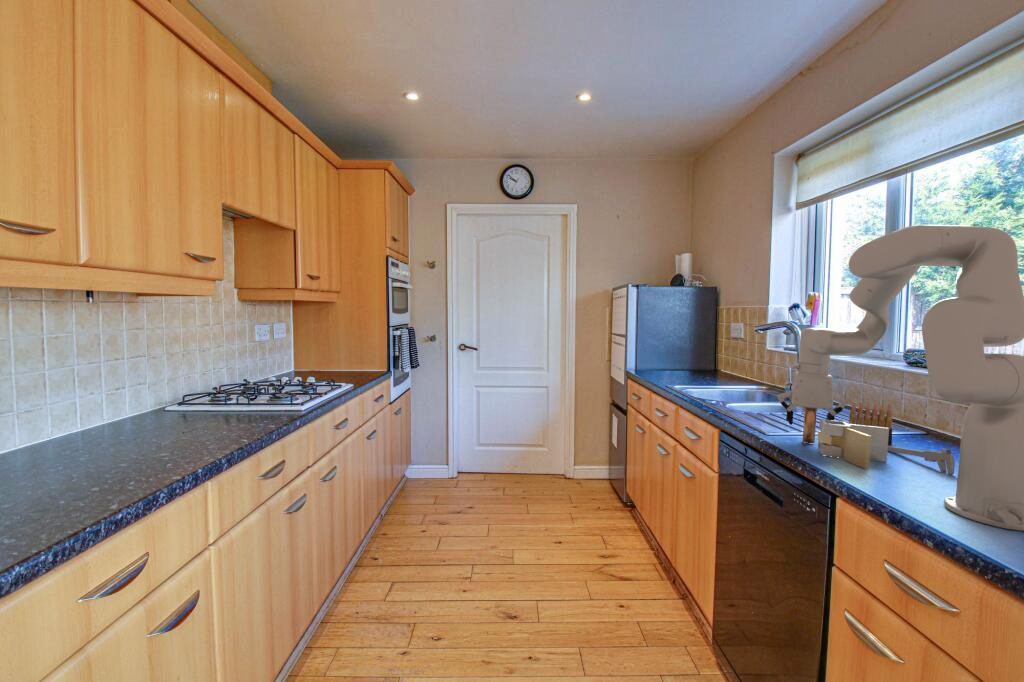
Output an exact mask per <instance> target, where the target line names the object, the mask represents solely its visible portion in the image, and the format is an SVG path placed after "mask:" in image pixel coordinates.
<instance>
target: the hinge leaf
mask: <svg viewBox="0 0 1024 682" xmlns="http://www.w3.org/2000/svg"><path fill="white" fill-rule="evenodd" d="M818 440H819V441H821V442H824V443H826V444H828V445H831V446H840V447H843V448H844V457H843V459H842V460H844V461H847V462H849V463H851V464H852V465H855V466H858V467H859V468H862V469H864V470H869V469H870V461H871V460H870V447H871V436H870V435H867V434H864V433H862V432H859V431H856V430H853V429H850V428H846V431H845V437H841V436H832V435H824V434H823V433H822V432H821V431H817V441H818Z"/></svg>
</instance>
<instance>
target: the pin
mask: <svg viewBox="0 0 1024 682" xmlns="http://www.w3.org/2000/svg"><path fill="white" fill-rule="evenodd" d="M817 411H818V409H816V408H806V407H804V412H803V413H804V414H803V427H802V428H803V429H802V441H804V442H808V443H814V444H815V440H816V427H817Z"/></svg>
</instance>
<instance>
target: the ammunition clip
mask: <svg viewBox="0 0 1024 682" xmlns="http://www.w3.org/2000/svg"><path fill="white" fill-rule="evenodd" d="M870 406H871V405H870V404H869V403H867V404H866V405H865V408H864V405H863V403H862V402H860V403H859V404H858V407H857V408H856V403H855V402H852V404H851V407H850V414H849V419H848V424H856V425H866V426H875V427H885V428H889V436H888V446H893V409H892V406H891V404H889V405H888V407H887V409H886V411H885V405H884V404H881V406H880V409H879V413H878V405H877V404H876V403H875V404H874V405H873V407H872V411H871V407H870ZM864 409H865V410H864ZM856 411H857V412H856ZM885 412H886V415H885Z"/></svg>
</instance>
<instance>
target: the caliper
mask: <svg viewBox="0 0 1024 682" xmlns="http://www.w3.org/2000/svg"><path fill="white" fill-rule="evenodd" d="M887 450H888V451H887V452H889V451H890V452H889V453H896V454H902V455H908V456H915V457H920V458H924V461H925V462H930V463H931V462H932V463H934V462H936V463H937V467H938V468H939V471H940V472H941V473H947V475H954V474H955V465H956V461H955V456H954V454H953V453H952V452H951V449H950V448H947V449H946V448H941V449H940V450H941V451H935V450H927V449H926V450H923V451H922V450H916V449H910V448H905V447H904V448H903V447H899V446H898V447H897V446H892V445H888V448H887Z"/></svg>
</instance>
